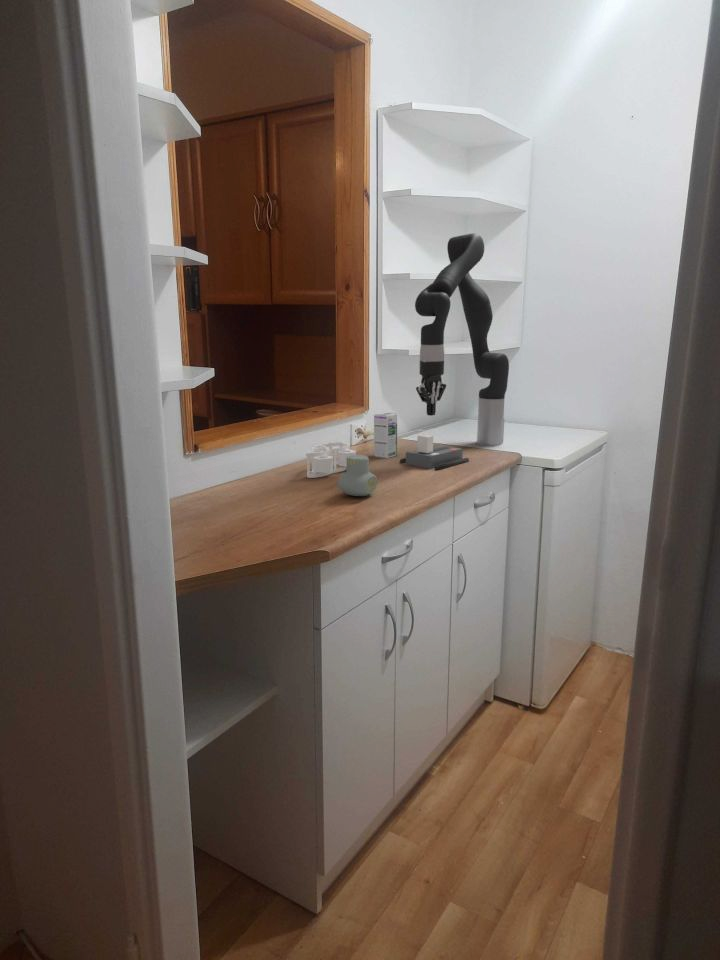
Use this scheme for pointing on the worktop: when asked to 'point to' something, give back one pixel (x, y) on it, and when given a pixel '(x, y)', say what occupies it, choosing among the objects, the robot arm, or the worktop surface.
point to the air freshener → (357, 477)
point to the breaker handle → (425, 443)
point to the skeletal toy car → (328, 459)
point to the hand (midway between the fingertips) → (430, 415)
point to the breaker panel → (433, 456)
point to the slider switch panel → (444, 463)
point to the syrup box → (385, 435)
